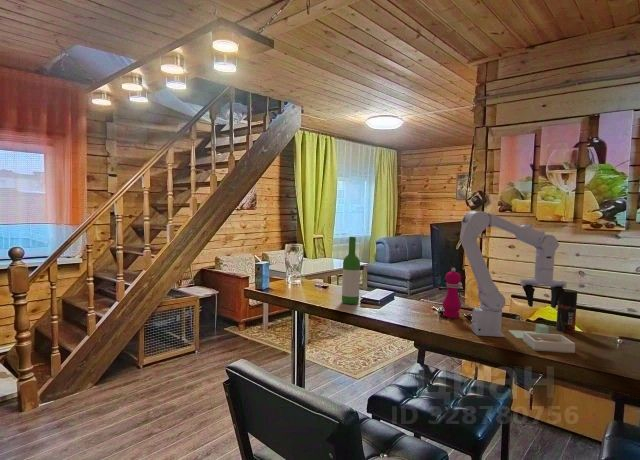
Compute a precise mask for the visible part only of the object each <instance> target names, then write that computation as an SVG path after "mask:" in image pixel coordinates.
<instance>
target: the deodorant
mask: <svg viewBox="0 0 640 460" xmlns="http://www.w3.org/2000/svg"><path fill="white" fill-rule="evenodd" d="M563 289H564V292H563V293H562V295H561V296H560V298H559V300H558V302H557V310H556V311H557V312H556V325H555V326H556V327H555V330H556V331H559V332H561V333H567V334H574V333H575V332H576V317H577V304H578V303H577V302H578V291H577V290H574V289H567V288H563Z"/></svg>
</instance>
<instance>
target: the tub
mask: <svg viewBox="0 0 640 460" xmlns="http://www.w3.org/2000/svg"><path fill="white" fill-rule="evenodd" d="M522 341H523V342H524V343H525V344H526V345H527V347H529V348H530V347H531V348H530V349H531V350H533V351H537V352H550V353H551V352H552V353H563V354H565V353H566V354H575V352H576V342H573V341H572V340H570V339H569V338H567V337H565V336H564V335H563V334H558V333H557V334H556V333H549V334H541V333H525V332H524V334H523V339H522Z"/></svg>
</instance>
